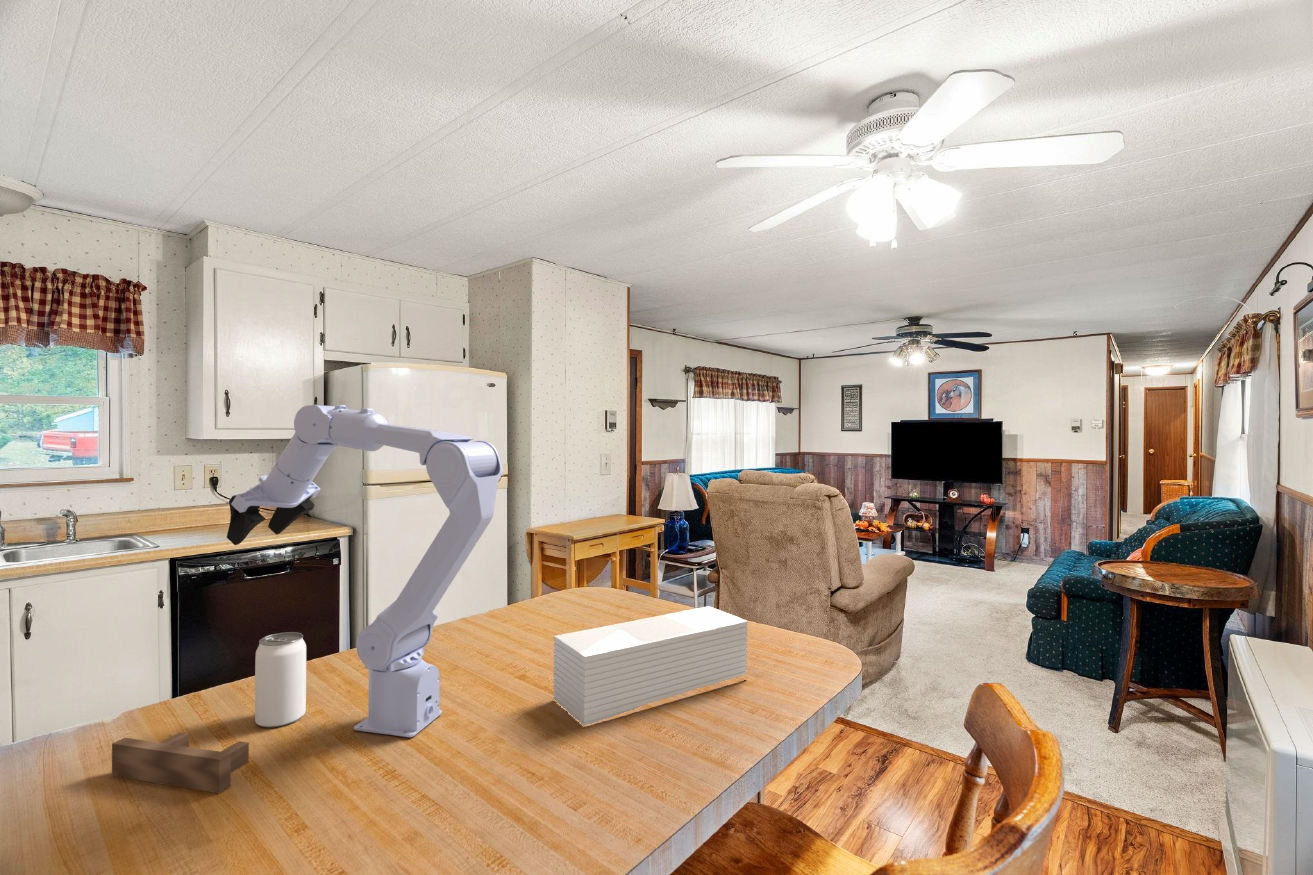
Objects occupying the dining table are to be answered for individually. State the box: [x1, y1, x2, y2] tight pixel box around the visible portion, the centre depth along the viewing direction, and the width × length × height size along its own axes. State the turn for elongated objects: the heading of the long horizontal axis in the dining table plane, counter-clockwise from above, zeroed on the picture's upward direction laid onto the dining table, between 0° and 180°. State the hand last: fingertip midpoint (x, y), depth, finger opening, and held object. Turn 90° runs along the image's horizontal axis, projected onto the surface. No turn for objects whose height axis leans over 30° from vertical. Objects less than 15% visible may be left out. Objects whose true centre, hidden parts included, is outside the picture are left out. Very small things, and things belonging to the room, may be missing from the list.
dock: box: [111, 732, 250, 794], centre depth 77 cm, size 16×6×4 cm, turn 78°
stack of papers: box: [552, 605, 749, 726], centre depth 103 cm, size 32×11×11 cm, turn 124°
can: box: [254, 631, 307, 729], centre depth 91 cm, size 6×6×12 cm
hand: (253, 535), depth 98 cm, fingers open, 7 cm apart
